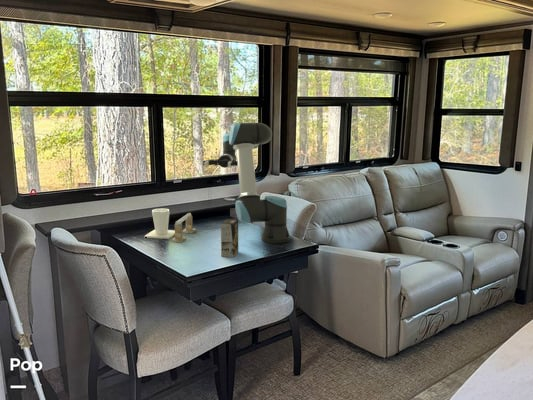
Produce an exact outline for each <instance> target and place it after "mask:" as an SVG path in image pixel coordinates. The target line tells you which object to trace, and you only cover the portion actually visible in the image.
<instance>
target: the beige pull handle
mask: <svg viewBox="0 0 533 400" xmlns="http://www.w3.org/2000/svg"><path fill="white" fill-rule="evenodd" d="M174 230H175V235H174V236H173V237H172V238H171V242H174V243H175V242H177V243H183V242H185V241H186V239H187V238H186V236H185V237H183V233H184V234H194V233H195V232H196V228H193V215H191V216H190V217H189V218H187V219H186V220H185V228H184V229H183V222H182V223H180V224H179V225H176V223H174Z"/></svg>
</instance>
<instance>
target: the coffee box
mask: <svg viewBox="0 0 533 400" xmlns="http://www.w3.org/2000/svg"><path fill="white" fill-rule="evenodd" d="M220 245H221V246H220V248H221V249H220V250H221V252H220V253H221V255H220V256H221V257H226V258H227V257H228V258H234V257H236V256H237V254H238V253H239V219H225V220H224V221H223V222H221V223H220Z"/></svg>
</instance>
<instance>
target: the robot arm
mask: <svg viewBox="0 0 533 400" xmlns="http://www.w3.org/2000/svg"><path fill="white" fill-rule="evenodd" d="M272 138H273V131H272V129H271V128H270V127H269V125H267V124H265V123H262V122H233V123H232V124H231V125H230V129H229V133H224V134H223V136H222V155H220V156H219V157H218V158H216V159H214V158H213V159H209V160H208V159H206V160H203V161H202V165H203V167H204V168H207V167H209V166H219V167H221V168H228V169H229V168H231V167H237V171H238V183H239V184H238V185H239V193H240V194H239V195H238V197H237V200H236V201H235V214H236V217H237V220H238V222H240V223H242V224H246V223H248V224H250V223H261V222H264V227H263V230H262V233H261V241H262V242H264V243H268V244H284V243H288V242H289V241H290V240H291V238H290V237H291V235H290V233H289V230H288V227H287V225H288V223H287V222H288V221H287V219H288V218H287V217H288V216H287V214H288V213H287V211H288V202H287V200H286V199H285V198H284V197H280V196H276V195H275V196H274V195H265V196H264V199H261V195H260V194H259V193H258V191H257V184H256V182H257V181H256V171H255V163H254V154H253V149H254V150H255V149H258V147H259V145H264V144H267V143H269V142H270V141H271V140H272Z"/></svg>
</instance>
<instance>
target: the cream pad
mask: <svg viewBox="0 0 533 400" xmlns="http://www.w3.org/2000/svg"><path fill="white" fill-rule="evenodd" d="M145 237H147V238H146V239H162V240H163V239H164V240H170V239H172V238H173V237H175V229H173V230H172V229H168V232H167V234H163V235H158V234H156V232H155V228H154V229H153V230H152V231H150V232H148V233H146V234H145V235H144V238H145Z"/></svg>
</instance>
